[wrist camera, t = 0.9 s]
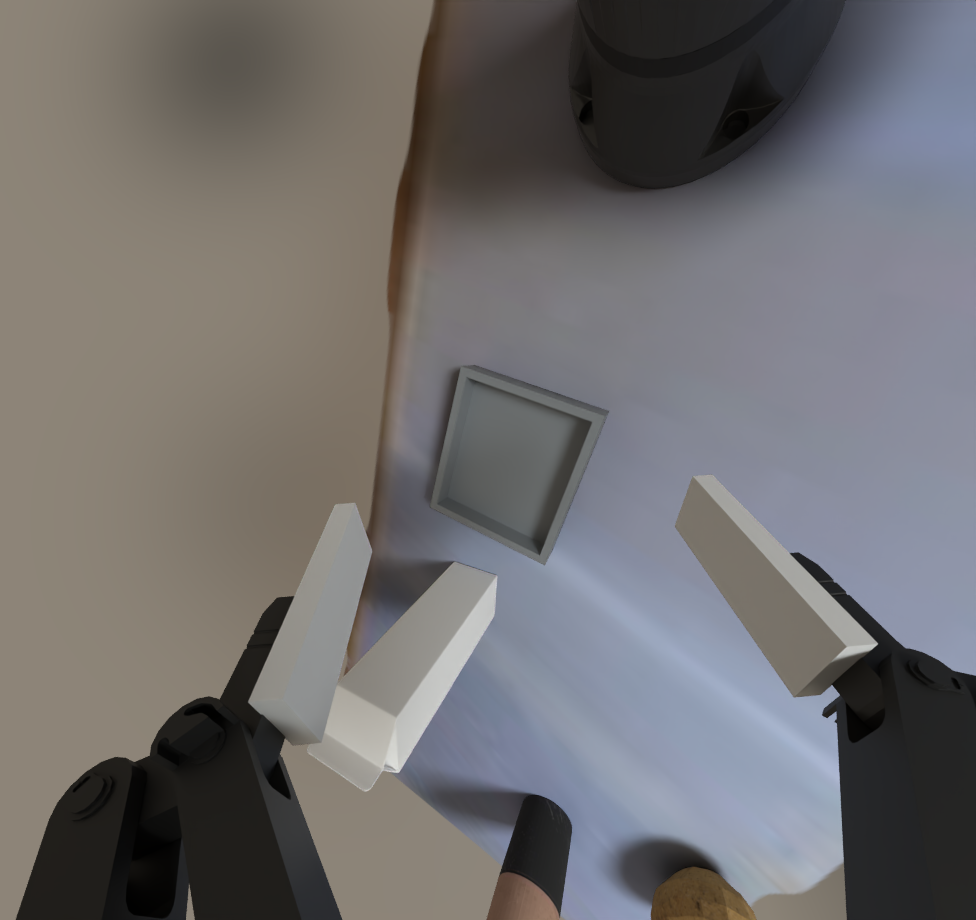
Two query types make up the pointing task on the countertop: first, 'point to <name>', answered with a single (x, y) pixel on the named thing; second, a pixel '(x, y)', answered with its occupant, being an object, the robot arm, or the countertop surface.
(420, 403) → the countertop surface
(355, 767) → the milk
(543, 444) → the tray
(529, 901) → the travel mug
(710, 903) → the potato
